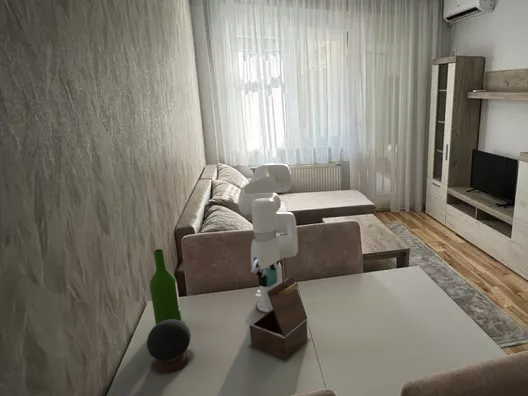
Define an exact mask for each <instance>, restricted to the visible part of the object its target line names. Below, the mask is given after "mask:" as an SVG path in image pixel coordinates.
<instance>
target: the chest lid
mask: <svg viewBox="0 0 528 396" xmlns="http://www.w3.org/2000/svg"><path fill="white" fill-rule="evenodd" d="M298 288H299V283H298V282H296V281H295V280H294V277H293V275H291V276H290V277H288V278H286V279H284V280H282V283H280V284H279V285H277V286H276V287H274V288H273V289H271V290H269V291H268V292H267V294H268V296H269V299H270V302H271V305H272V307H273V310H274V313H275V316H276V318H277V321H278V324H279V326H280V329H281V332H282V335H283V337H286V336H287V335H288V334H289V333H290V332H292V331H293V330H294V329H295V328H296V327H298V326H299V325H300V324H301V323H302V322H304V321H305V320H306V319H307V320H308V315H307V313H306V310H305V307H304V305H303V301H302V299H301V295H300V293H299V291H298Z"/></svg>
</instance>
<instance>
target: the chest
mask: <svg viewBox="0 0 528 396" xmlns="http://www.w3.org/2000/svg"><path fill="white" fill-rule="evenodd" d="M249 335H250V337H249V338H250V347H251V348H254V349H256V350H259V351H261V352H263V353H266V354H269V355H271V356H273V357H276V358H278V359H281V360H282V361H287V360H288V359H289V358H290V357H291V356H293V354H295V352H297V350H299V349H300V348H301V347H302V346H303V345H304V344H305V343H306V342H307V341H308V318H307V319H306V320H305V321H304V322H302V323H301V324H300V325H299V326H298V327H296V328H295V329H294V330H293V331H292V332H290V333H289V334H288V335H287V336H286V337H283V335H282V332H281V329H280V326H279V324H278V321H277V318H276V316H275V313H274V310H273V309H272V310H270V311H269V312H265V314H263V315H261V316H260V317H259V318H257V319H256V320H255V321H253V322H252V323H250V324H249Z"/></svg>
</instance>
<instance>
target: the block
mask: <svg viewBox="0 0 528 396" xmlns="http://www.w3.org/2000/svg"><path fill="white" fill-rule="evenodd" d="M261 273H262V271H261ZM265 276H266V281H267V286H266V287H270V286H272V285H273V284H275V283H277V271H276V270H273V269H269V268H266V269H265Z"/></svg>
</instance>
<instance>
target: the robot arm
mask: <svg viewBox="0 0 528 396" xmlns="http://www.w3.org/2000/svg"><path fill="white" fill-rule="evenodd" d="M291 189H292V173H291V169H290V167H289V166H288V165H287V164H285V163H265V164H264V163H263V164H260V165H259V166H257V167H256V168H255V170H254V174H253V176H252V177H251V178H250V182H248V183H246V184H245V185H244V186H242V187H241V188H240V191H239V196H238V209H239V212H240V213H241V214H242V215H244V216H251V219H252V232H253V233H252V235H253V239H252V240H251V246H250V266H251V269H250V273H251V274H254V275H255V276H257V280H258V286H259V290H258V289H257V291H256V294H255V295H254V298H257V299H258V302H257V303H256V306H257V309H258V310H259V311H260V312H263V313H267V312H269V311H270V310H272V309H273V307H272V305H271V302H270V299H269V296H268V294H267V292H268V291H269V290H271V289H273V288H274V287H276V286H277V285H279V284H280V283H282V282H283V267H282V265H281V263H280V261H281V260H282V259H286V258H287V259H289V258H294V257H296V256H297V254H298V252H299V239H298V228H297V220H296V217H295V214H294V213H292V212H290V211H284V212H283V211H281V212H279V210H280V209H281V206H282V204H281V203H282V200H281V197H280V196H279V194H277V193H288V192H289V191H290V190H291ZM266 268H269V269H273V270H276V271H277V283H275V284H273V285H272V286H270V287H266V286H267V281H266V276H265V269H266ZM261 271H262V273H261Z"/></svg>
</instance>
